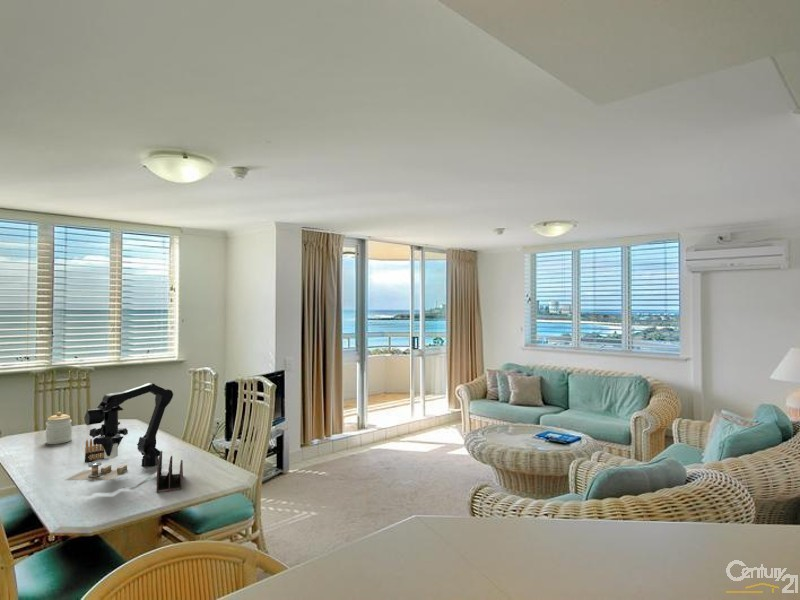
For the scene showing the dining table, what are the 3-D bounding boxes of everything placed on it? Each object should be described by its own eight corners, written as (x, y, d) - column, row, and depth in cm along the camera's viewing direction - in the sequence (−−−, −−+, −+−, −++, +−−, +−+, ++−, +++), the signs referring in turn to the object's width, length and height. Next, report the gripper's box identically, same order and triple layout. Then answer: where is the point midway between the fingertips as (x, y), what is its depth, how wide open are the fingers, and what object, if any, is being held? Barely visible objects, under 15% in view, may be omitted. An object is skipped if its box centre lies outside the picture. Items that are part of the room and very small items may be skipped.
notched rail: (127, 470, 237) (127, 464, 237) (121, 473, 232) (121, 468, 232) (107, 470, 237) (107, 464, 237) (100, 473, 232) (100, 468, 232)
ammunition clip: (85, 463, 252) (85, 440, 252) (84, 462, 254) (84, 439, 254) (108, 459, 259) (109, 436, 259) (108, 458, 261) (108, 435, 261)
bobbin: (103, 473, 232) (103, 462, 232) (97, 477, 226) (97, 465, 226) (92, 473, 232) (92, 462, 232) (85, 477, 226) (85, 465, 226)
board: (127, 472, 237) (127, 469, 237) (110, 483, 223) (110, 479, 223) (84, 473, 237) (84, 469, 237) (64, 483, 223) (64, 480, 223)
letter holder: (156, 493, 211) (156, 460, 211) (159, 478, 230) (159, 448, 230) (181, 490, 215) (181, 457, 215) (183, 475, 233) (183, 445, 234)
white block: (117, 456, 232) (117, 443, 232) (112, 458, 228) (112, 445, 228) (109, 456, 232) (109, 443, 232) (104, 458, 228) (104, 445, 228)
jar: (41, 445, 287) (41, 414, 287) (51, 439, 299) (51, 410, 299) (66, 443, 290) (66, 413, 290) (75, 438, 302) (75, 409, 302)
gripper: (105, 416, 240) (105, 449, 240) (81, 426, 221) (81, 461, 221) (128, 416, 240) (128, 448, 240) (106, 425, 221) (106, 460, 221)
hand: (111, 454), depth 230 cm, fingers closed on white block, 4 cm apart
